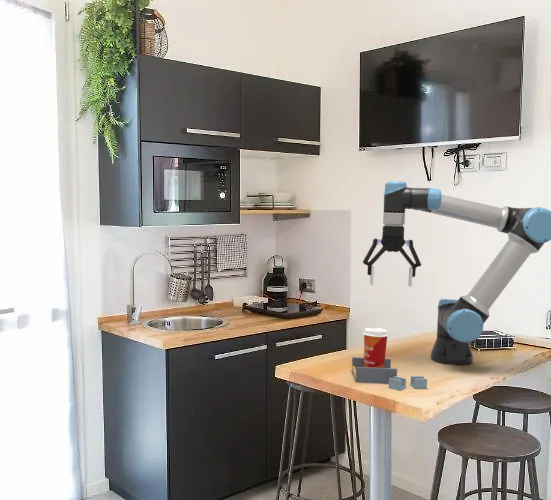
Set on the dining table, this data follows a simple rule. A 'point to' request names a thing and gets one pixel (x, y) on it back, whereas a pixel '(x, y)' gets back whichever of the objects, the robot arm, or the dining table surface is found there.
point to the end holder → (372, 372)
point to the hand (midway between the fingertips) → (390, 285)
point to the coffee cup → (374, 347)
